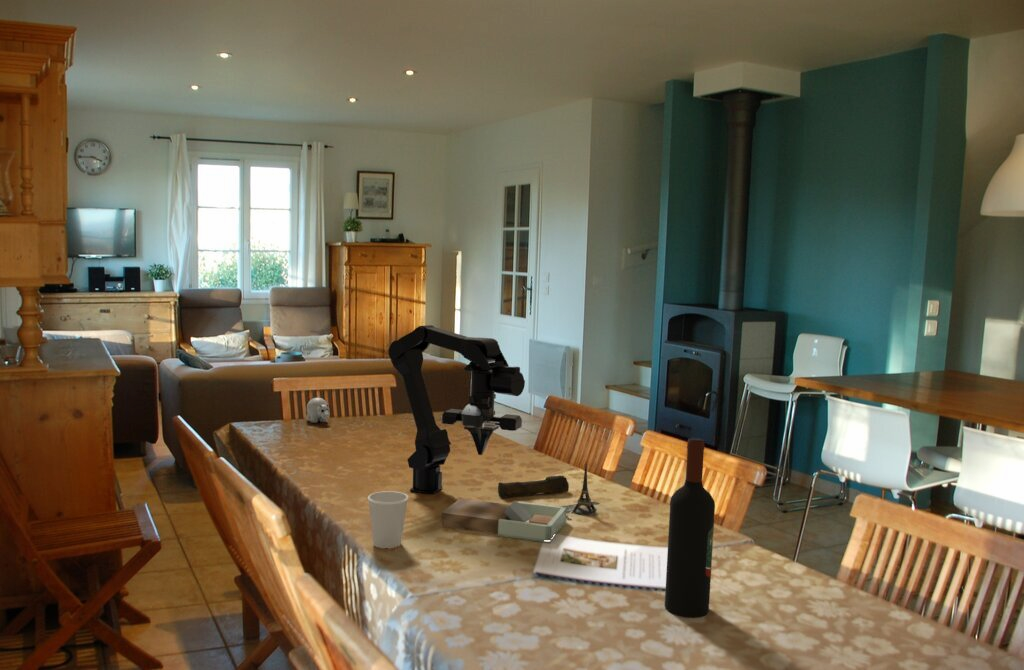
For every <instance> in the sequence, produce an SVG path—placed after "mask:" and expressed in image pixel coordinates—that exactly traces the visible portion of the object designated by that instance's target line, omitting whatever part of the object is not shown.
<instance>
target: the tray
mask: <svg viewBox="0 0 1024 670" xmlns="http://www.w3.org/2000/svg"><path fill="white" fill-rule="evenodd" d="M517 502H518V503H519V504H520V505H521V506H522V507H523V508H524V509H525V510H526V511H527V512H528V513H529V514H530V515H531V517H530V518H529V519H528V520H527V521H526V522H520V521H513V520H505V519H499V522H498V534H497V536H498V537H503V538H509V539H510V538H511V539H517V540H518V539H519V540H525V541H532V542H539V543H544V542H543V541H544V540H551V538H552V537H553V535H554V534H556V535H558V534H559V532H560V530H562V528H563V527H564V526H565V524H566V523H567V519H566V515H567V513H566V512H567V507H560V505H559V506H558V505H549V504H541V503H533V502H525V501H517ZM534 515H543V516H551V517H553V518H552V520H551V521H550V522H549V523H548V524H547V525H544V524H536V523H529V521H530V519H531V518H532V517H533V516H534Z"/></svg>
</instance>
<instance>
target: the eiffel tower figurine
mask: <svg viewBox="0 0 1024 670" xmlns="http://www.w3.org/2000/svg"><path fill="white" fill-rule="evenodd" d="M584 495H585V497H584ZM596 505H600V502H599V501H596V500H595V501H592V498H590V493H589V489H588V463H587V462H585V463H584V475H583V481H582V488H581V494H580V496H579V497H578V499H577V503H576V504H568V505H561V506H560V505H559V507H567V512H566V520H568V521H573V519H572V518H570V517H569V516H568V515H567V514H569V513H570V514H571V515H572V514H573V515H574V514H575V515H583V516H592V517H593V516H594V515H595V513H596V511H597V508H596V507H595V506H596ZM581 506H584V507H581Z"/></svg>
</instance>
